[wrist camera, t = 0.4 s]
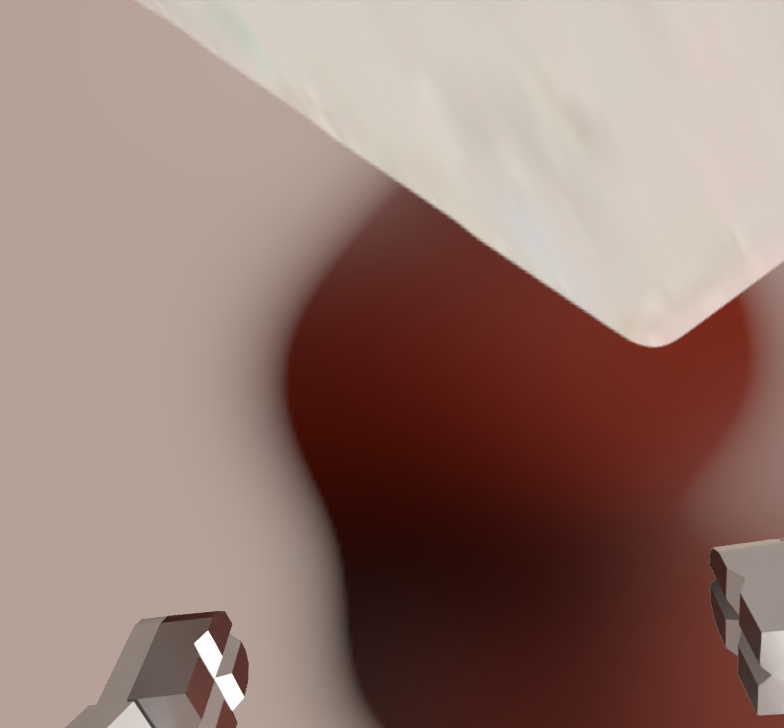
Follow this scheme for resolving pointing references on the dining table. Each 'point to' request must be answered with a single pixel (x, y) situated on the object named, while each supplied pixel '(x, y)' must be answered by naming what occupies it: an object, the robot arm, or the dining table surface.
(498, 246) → the dining table surface
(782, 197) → the dining table surface
